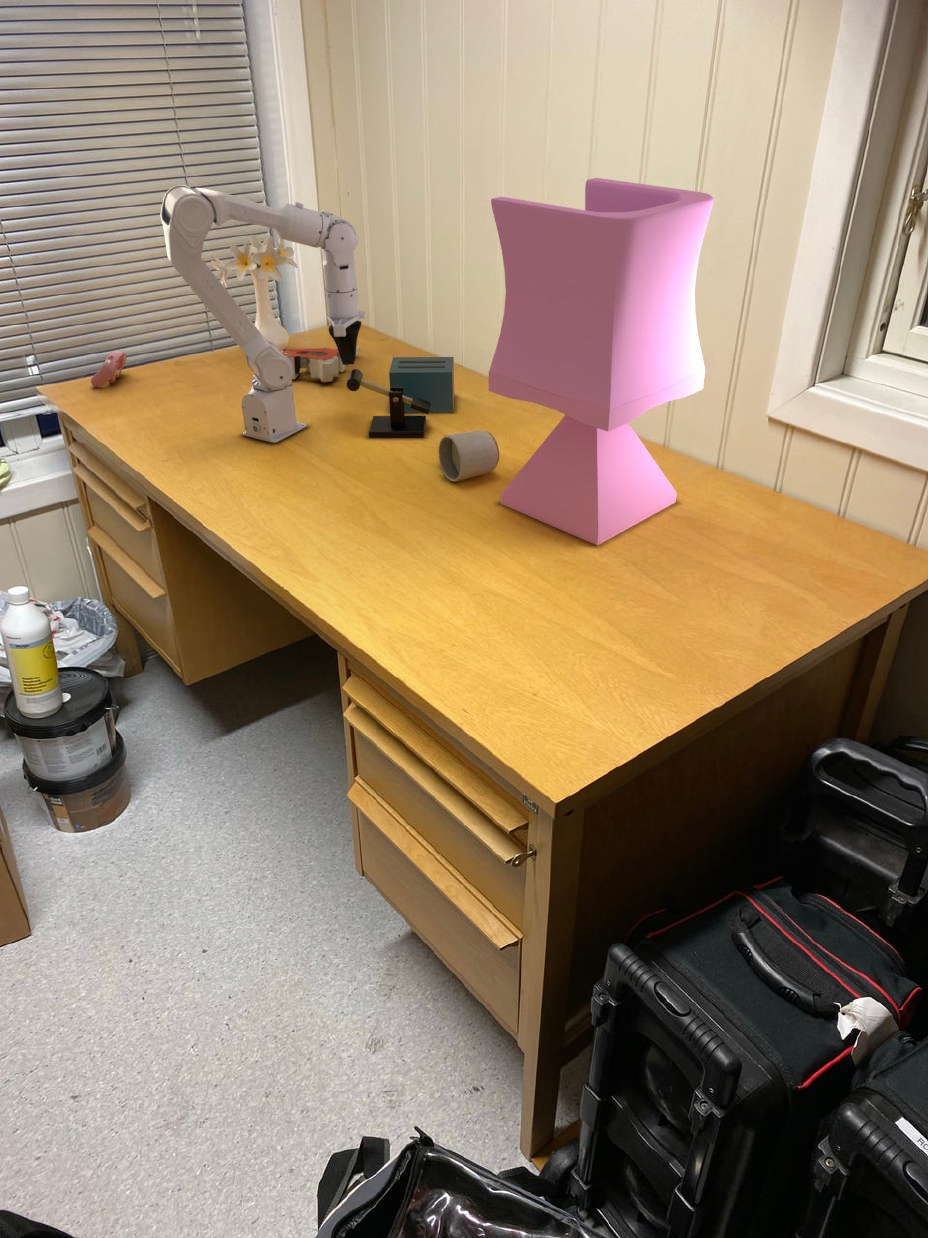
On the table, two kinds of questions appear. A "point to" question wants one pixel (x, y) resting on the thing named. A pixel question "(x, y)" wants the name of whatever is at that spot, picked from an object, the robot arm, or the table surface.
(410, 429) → the bracket
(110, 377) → the pink lumpy figure
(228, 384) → the table surface
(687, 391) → the pink tall piece
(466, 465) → the ceramic mug
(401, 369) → the toaster
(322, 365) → the red grey lobed slab
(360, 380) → the lever
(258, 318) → the flower vase
